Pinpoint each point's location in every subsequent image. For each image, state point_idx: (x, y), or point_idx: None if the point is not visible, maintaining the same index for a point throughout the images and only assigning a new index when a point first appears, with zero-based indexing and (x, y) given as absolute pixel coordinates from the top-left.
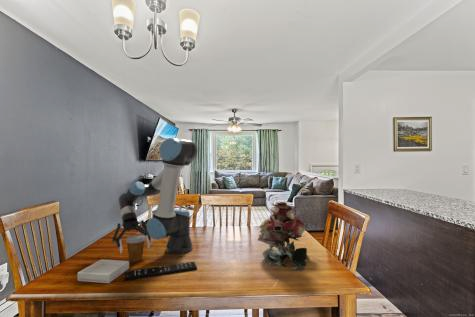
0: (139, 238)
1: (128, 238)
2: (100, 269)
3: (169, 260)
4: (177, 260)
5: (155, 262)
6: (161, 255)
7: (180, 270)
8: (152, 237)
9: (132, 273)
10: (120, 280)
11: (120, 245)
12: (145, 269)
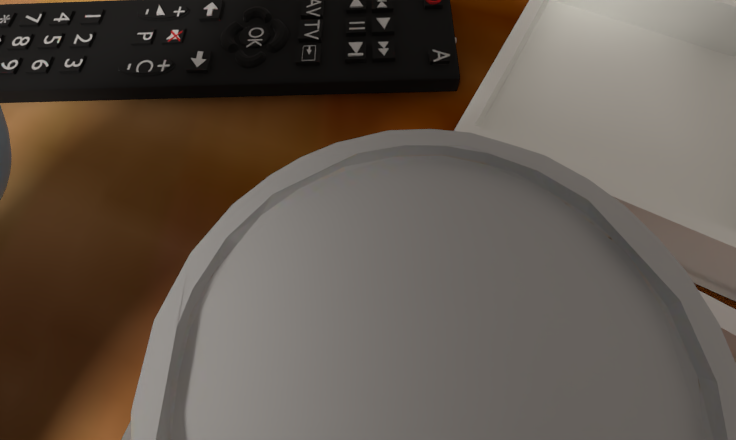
0: (315, 152)
1: (638, 244)
2: (698, 173)
3: (76, 227)
4: (15, 202)
5: (208, 224)
6: (91, 416)
7: (93, 4)
8: (2, 113)
9: (402, 34)
10: (471, 16)
11: (723, 304)
12: (310, 53)
